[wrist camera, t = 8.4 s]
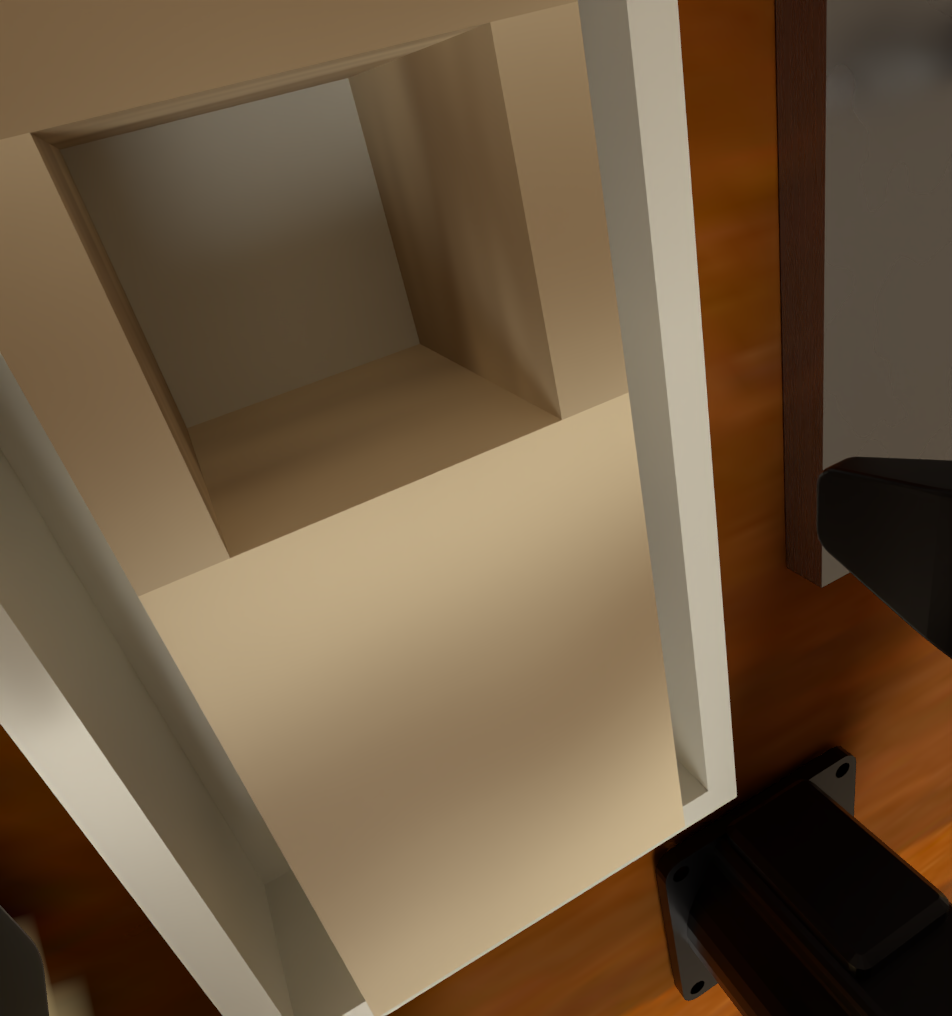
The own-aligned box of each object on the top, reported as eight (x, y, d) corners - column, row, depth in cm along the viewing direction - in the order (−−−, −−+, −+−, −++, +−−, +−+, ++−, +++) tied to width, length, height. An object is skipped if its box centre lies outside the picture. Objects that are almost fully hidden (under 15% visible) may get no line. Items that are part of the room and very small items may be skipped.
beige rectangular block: (550, 675, 14) (684, 825, 11) (306, 803, 13) (376, 1018, 10) (370, -97, 8) (542, -271, 5) (-109, -9, 7) (-294, -170, 4)
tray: (624, 685, 16) (736, 796, 13) (238, 895, 14) (275, 1084, 11) (456, -302, 9) (636, -545, 6) (-465, -205, 6) (-956, -534, 3)
